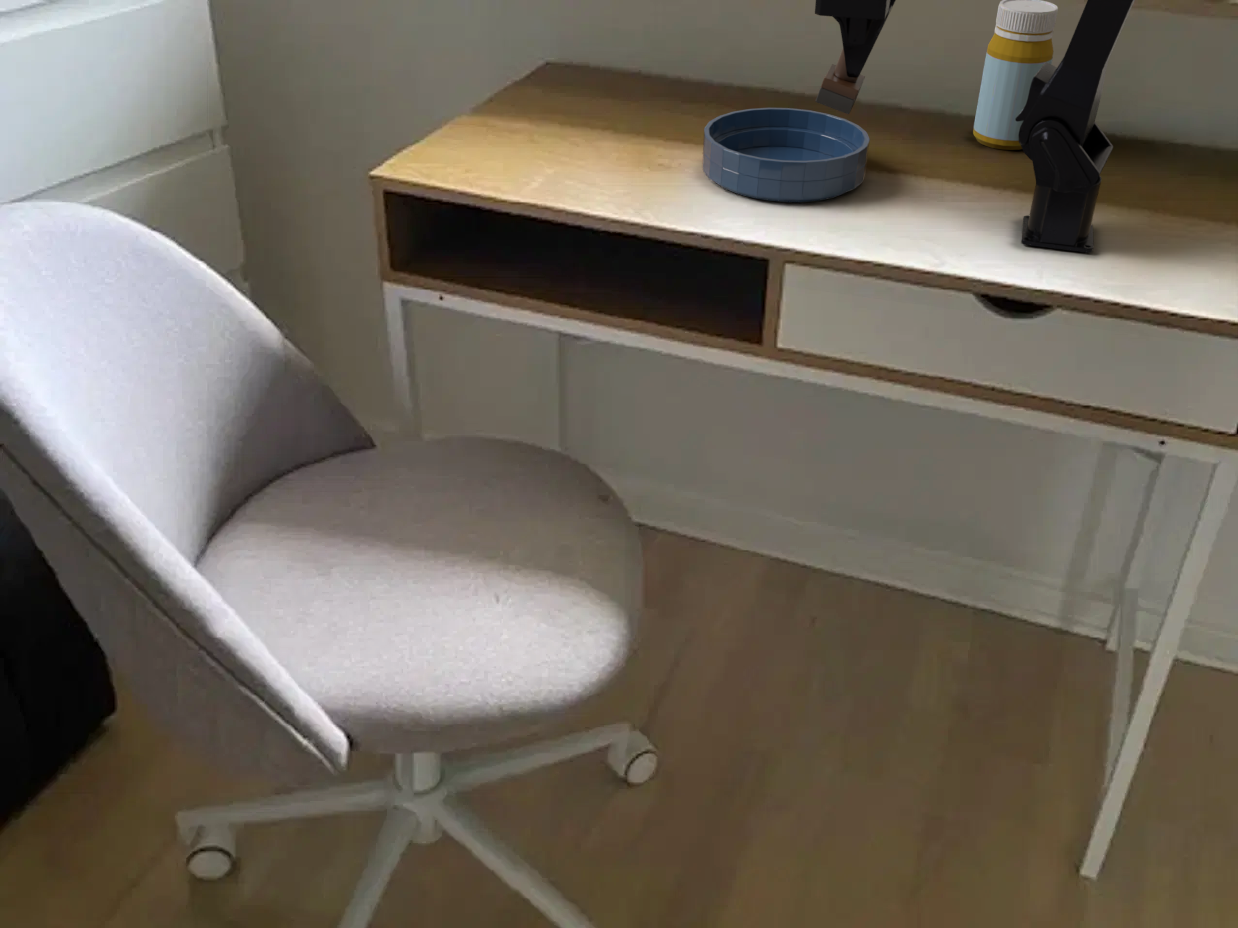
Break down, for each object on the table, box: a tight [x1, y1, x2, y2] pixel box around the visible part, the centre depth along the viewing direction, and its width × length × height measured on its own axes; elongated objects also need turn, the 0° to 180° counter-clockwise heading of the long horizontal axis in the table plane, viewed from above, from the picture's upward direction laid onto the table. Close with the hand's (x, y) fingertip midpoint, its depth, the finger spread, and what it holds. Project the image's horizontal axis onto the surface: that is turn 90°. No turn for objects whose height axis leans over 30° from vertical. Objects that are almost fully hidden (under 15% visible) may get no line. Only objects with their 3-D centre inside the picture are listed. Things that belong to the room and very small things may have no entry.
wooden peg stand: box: [815, 48, 866, 115], centre depth 124 cm, size 5×4×10 cm
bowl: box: [701, 107, 871, 203], centre depth 136 cm, size 17×17×4 cm
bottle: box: [972, 0, 1059, 151], centre depth 144 cm, size 7×7×15 cm
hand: (854, 73), depth 125 cm, fingers closed on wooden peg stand, 2 cm apart
